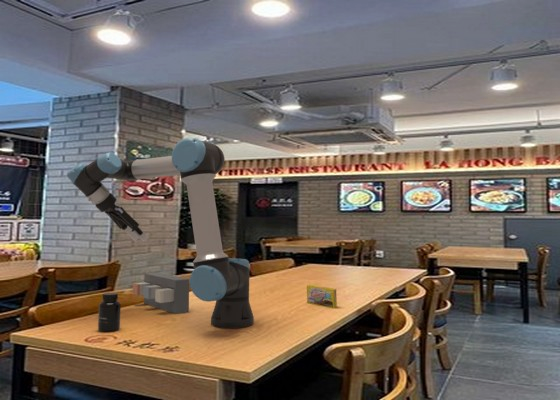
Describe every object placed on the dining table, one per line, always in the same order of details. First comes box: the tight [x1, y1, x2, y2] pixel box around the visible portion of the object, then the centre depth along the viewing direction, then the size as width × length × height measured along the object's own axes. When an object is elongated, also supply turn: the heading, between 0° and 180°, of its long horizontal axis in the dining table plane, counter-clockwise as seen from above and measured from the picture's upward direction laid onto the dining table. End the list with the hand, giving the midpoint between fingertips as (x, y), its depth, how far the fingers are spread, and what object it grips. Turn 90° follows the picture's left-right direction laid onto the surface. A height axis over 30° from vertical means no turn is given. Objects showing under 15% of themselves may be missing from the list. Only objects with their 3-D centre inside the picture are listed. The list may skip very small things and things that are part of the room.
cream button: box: [155, 288, 174, 303], centre depth 178 cm, size 8×5×5 cm, turn 130°
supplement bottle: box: [97, 292, 122, 333], centre depth 151 cm, size 7×7×12 cm
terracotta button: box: [132, 281, 150, 296], centre depth 195 cm, size 8×5×5 cm, turn 130°
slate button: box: [143, 285, 162, 299], centre depth 187 cm, size 8×5×5 cm, turn 130°
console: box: [143, 272, 190, 315], centre depth 190 cm, size 6×29×13 cm, turn 40°
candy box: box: [306, 284, 338, 309], centre depth 196 cm, size 16×2×8 cm, turn 42°
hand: (141, 239), depth 184 cm, fingers open, 8 cm apart
